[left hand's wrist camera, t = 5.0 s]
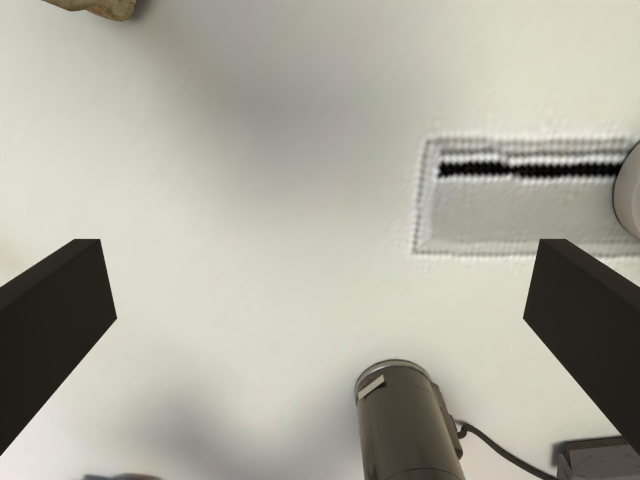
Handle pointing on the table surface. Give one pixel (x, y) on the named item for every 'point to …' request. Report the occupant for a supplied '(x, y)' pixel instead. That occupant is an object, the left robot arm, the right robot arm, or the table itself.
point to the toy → (599, 461)
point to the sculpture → (99, 7)
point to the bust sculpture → (629, 193)
